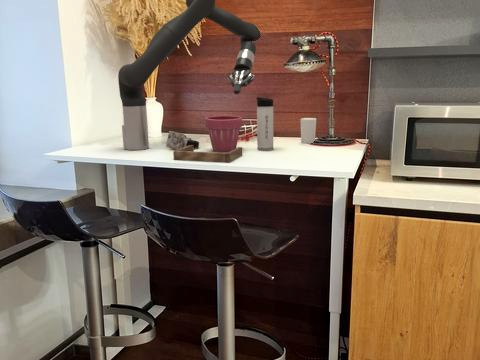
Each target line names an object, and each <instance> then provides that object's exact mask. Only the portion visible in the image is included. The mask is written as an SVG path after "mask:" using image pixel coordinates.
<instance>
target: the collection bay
mask: <svg viewBox="0 0 480 360" xmlns="http://www.w3.org/2000/svg"><path fill="white" fill-rule="evenodd" d="M194 149H195V148H194V146H193V145H189V146H186V147H183V148H181V149H178V150H174V151H173V152H172V155H173V160H174V161H191V162H193V161H194V162H210V163H211V162H212V163H225V164H227V163H232V162H233V161H235V160H237V159H239V158H241V157H243V147H242V146H238V147H236V149H234V150H232V151H230V152H216V151H212V152H211V151H194Z"/></svg>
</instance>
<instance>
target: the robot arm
mask: <svg viewBox="0 0 480 360" xmlns="http://www.w3.org/2000/svg"><path fill="white" fill-rule="evenodd" d="M185 5H186V7H187V8H186V9H185V11H182V13H180V14H178V15H177V16H175V17H174V18H171V19H170V20H169V21H167V22H166V23H164V24H163V25H162V26H161V28H159V30H158V31H157V32H156V33H155V34H154V35H153V36H152V39H150V42H149V43H148V46H147V47H146V49H145V51H144V52H143V53H142V54H141V55H140V56H139V57H138V58H137V59H136V60H135V61H133V62H132V63H130V64H129V63H128V64H124V65H122V67H120V69H119V71H118V77H117V79H118V89H119V97H120V100H121V104H122V105H121V106H122V107H121V108H122V118H123V124H122V126H121V131H122V132H121V133H122V144H123V149H124V150H128V151H142V150H147V149H149V148H150V142H149V131H148V130H149V129H148V115H147V114H148V113H147V100H146V98H145V96H144V93H143V86H144V85H145V84H146V83H147V81H148V80H149V78H150V77H151V76H152V75H153V73H154V72H155V70H156V69H157V67H159V65H160V64H162V62H164V61H165V60H166V58H168V56H169V55H170V54H171V53H172V52H174V51H175V49H176V48H177V47H178V46H180V45H181V43H182V41H184V39H186V37H187V36H188V35H189V34H190V33H191V31H193V29H194V28H195V27H196V26H197V25H199V23H200V22H201V21H203V20H204V19H205V18H206V19H207V20H209V21H211V22H213V23H216V24H217V25H219V26H221V27H222V28H223V29H225V30H226V31H228V32H230V33H232V35H235V36H237V37H239V39H240V40H239V41H240V43H239V44H240V48H239V52H238V54H237V58H236V59H235V63H234V68H233V71H231V74H226V78H227V81H228V83H229V84H230V85H231V86H232V87H233V89H232V90H233V91H232V92H233V93H234V95H239V94H240V93H241V90H242V88H243V87H247V86H249V84H250V83H252V82H253V81H254V80H255V75H254V73H251V72H252V69H253V64H254V62H255V56H256V52H257V45H256V43H255V44H254V43H252V41H256V40H258V39H259V38H260V37H261V36H260V35H261V34H260V31H259V30H258V28H257V27H256V26H255V25H256V24H255V25H254V23H253V22H249V21H246V20H243V19H241V18H240V17H238V16H237V15H235V14H233V13H231V12H230V11H227V10H224V9H223V8H221V7H218V6H216V0H185ZM240 36H241V37H240ZM250 41H251V42H250ZM233 79H234V80H233Z"/></svg>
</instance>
